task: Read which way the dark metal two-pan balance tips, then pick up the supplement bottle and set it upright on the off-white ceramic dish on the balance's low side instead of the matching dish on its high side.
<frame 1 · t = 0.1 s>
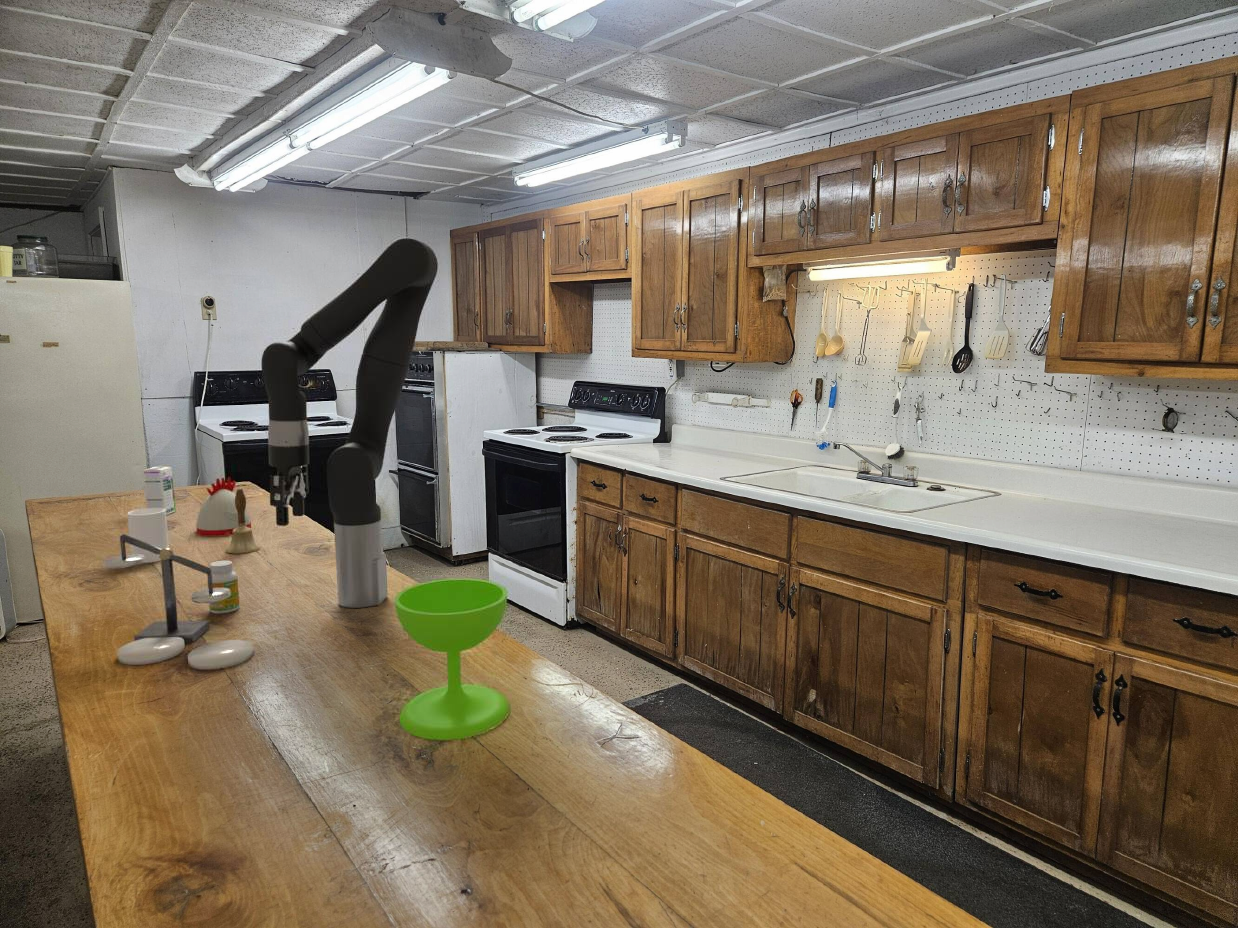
hand: (290, 520, 160), 17 cm above the table, tool pointing down, fingers open, 8 cm apart
mug: (149, 557, 195), on the table
wineglass: (455, 713, 115), on the table
balance: (173, 635, 144), on the table
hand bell: (243, 550, 202), on the table
white chicken dome: (224, 530, 222), on the table
dish high side: (152, 652, 136), on the table
dish low side: (221, 657, 134), on the table
syrup box: (161, 514, 242), on the table
supplement bottle: (225, 610, 158), on the table
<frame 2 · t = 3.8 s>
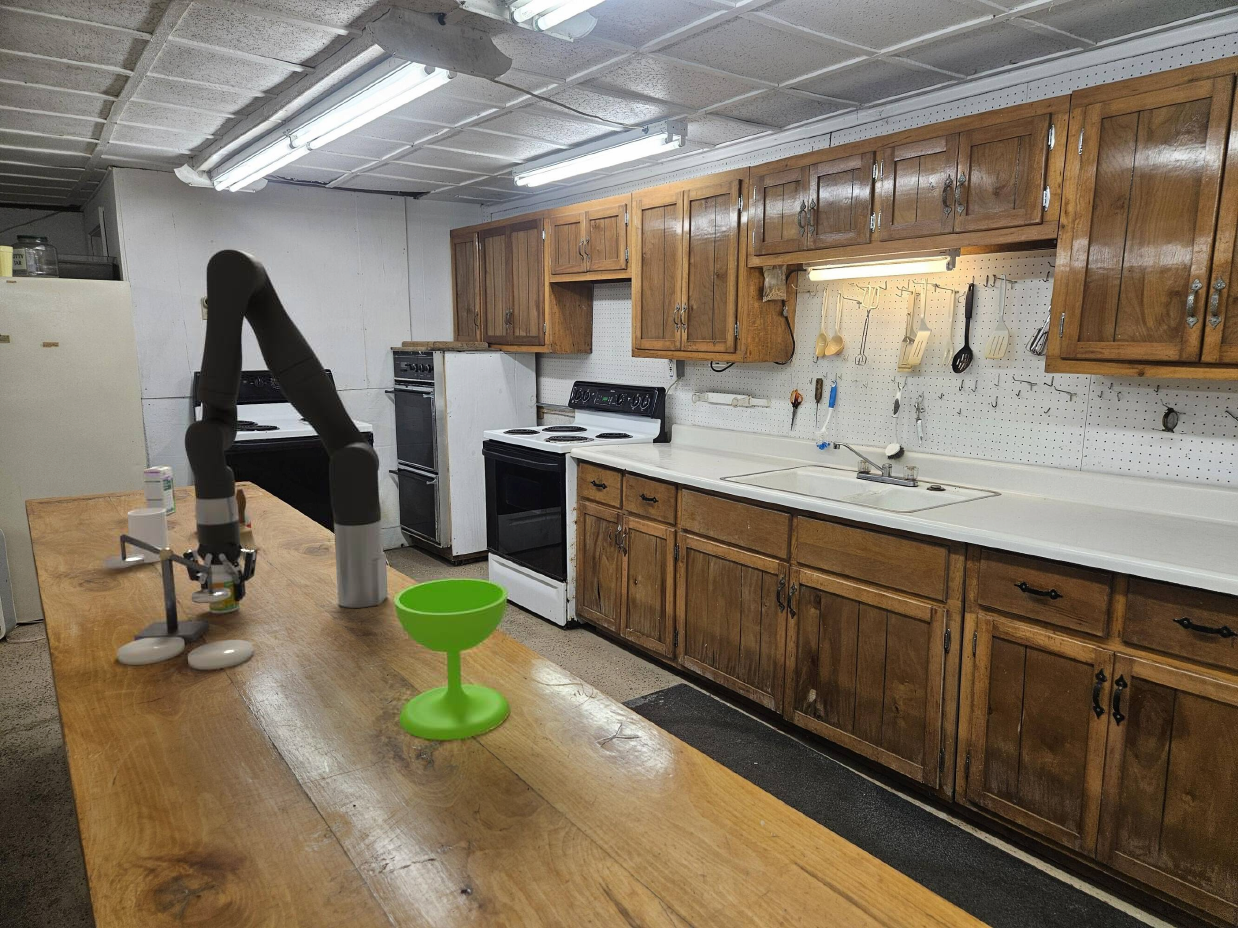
hand: (224, 599, 157), 2 cm above the table, tool pointing down, fingers closed on supplement bottle, 5 cm apart
supplement bottle: (225, 610, 158), on the table, touching gripper
everything else where it was.
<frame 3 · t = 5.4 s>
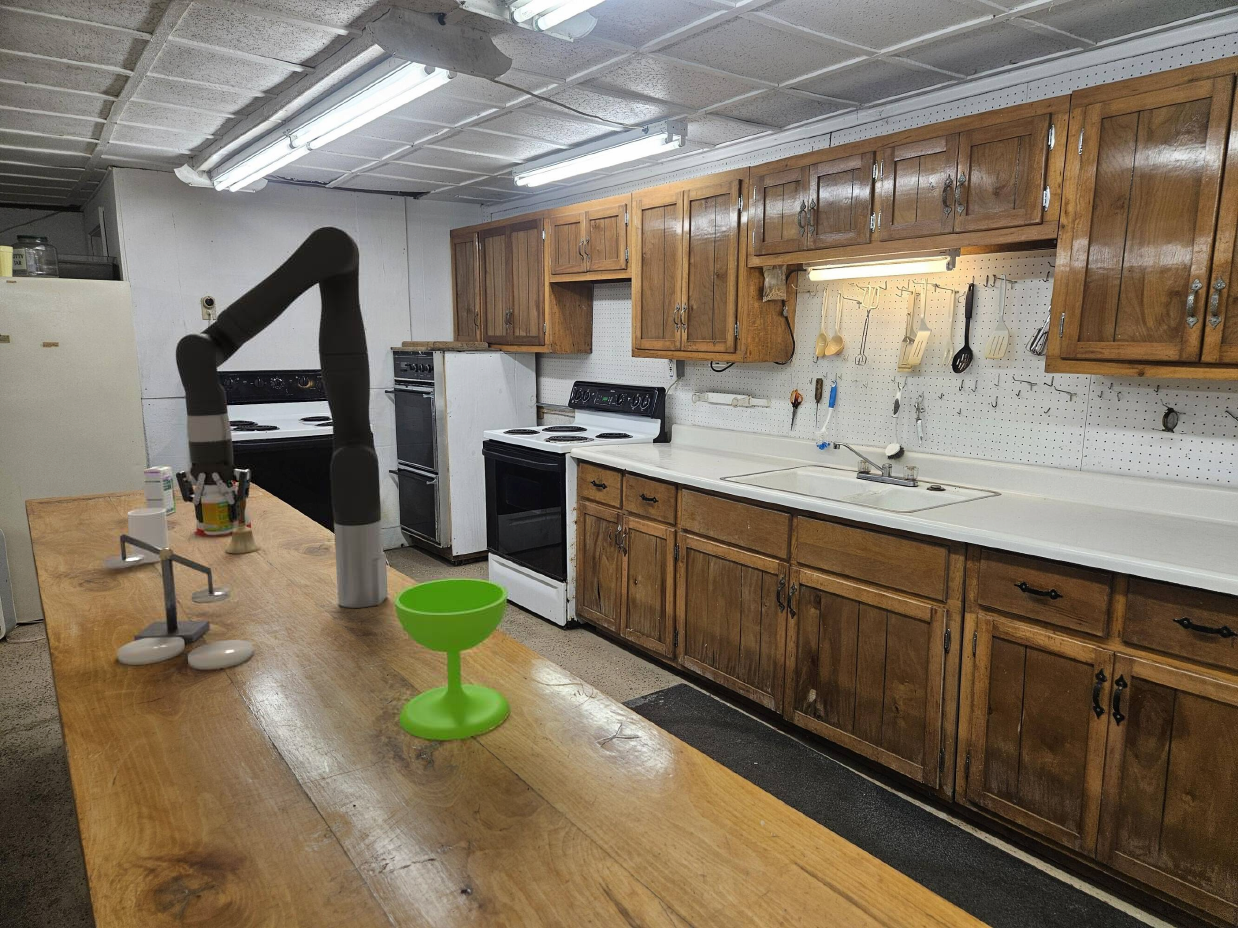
hand: (218, 521, 155), 18 cm above the table, tool pointing down, fingers closed on supplement bottle, 5 cm apart
supplement bottle: (219, 532, 155), point 16 cm above the table, touching gripper
everything else where it was.
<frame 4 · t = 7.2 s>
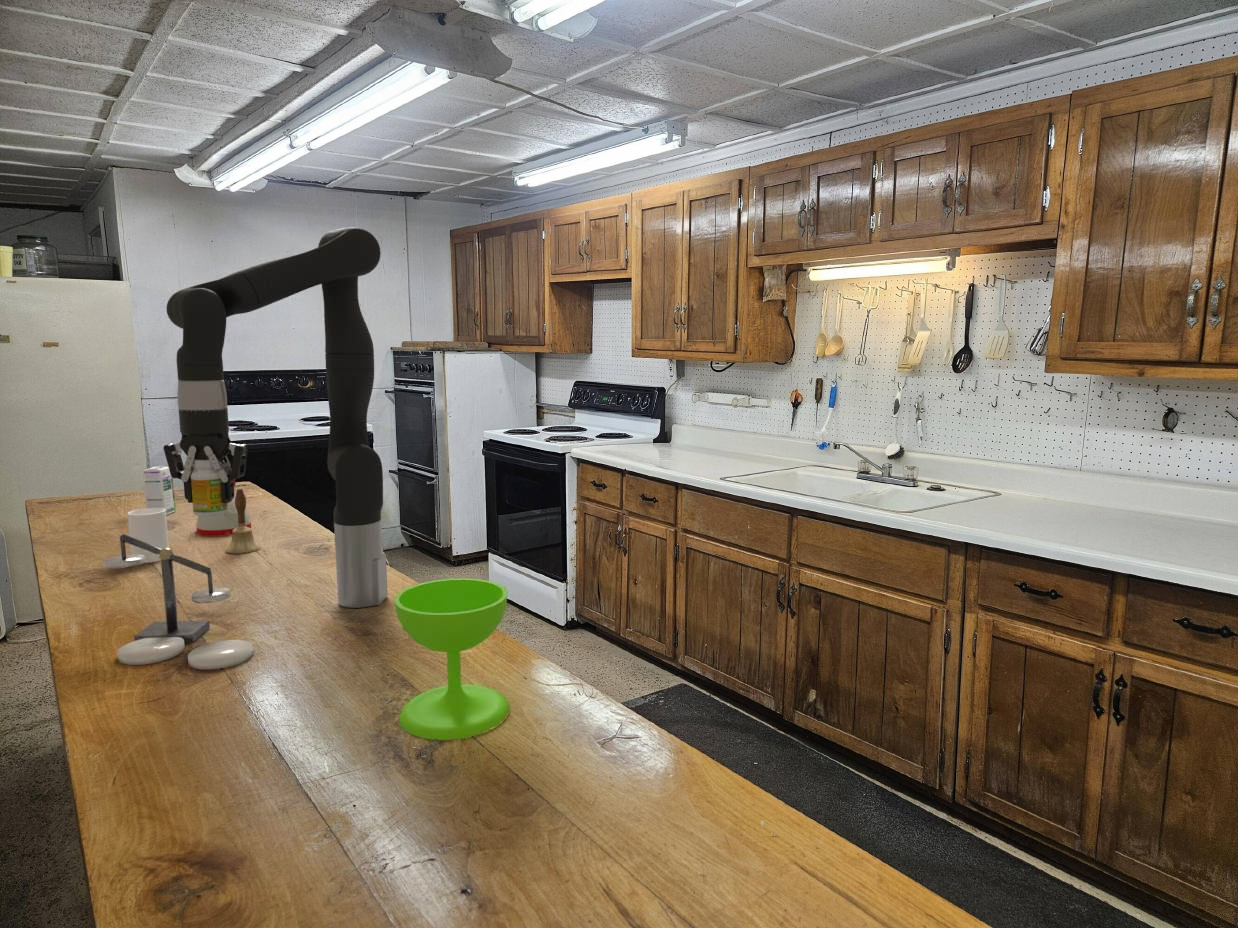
hand: (210, 501, 138), 26 cm above the table, tool pointing down, fingers closed on supplement bottle, 5 cm apart
supplement bottle: (210, 514, 138), point 23 cm above the table, touching gripper
everything else where it was.
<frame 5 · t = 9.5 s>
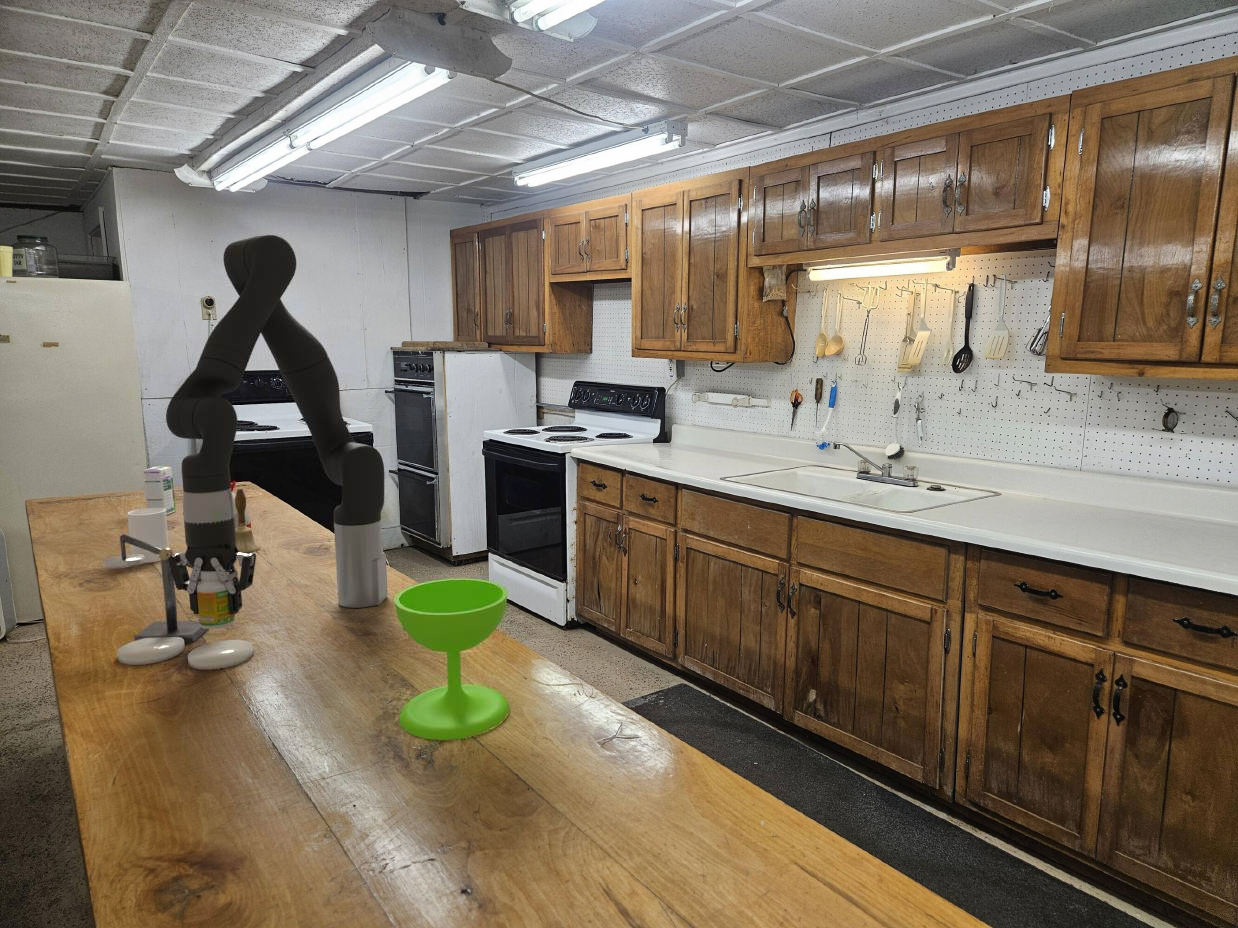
hand: (216, 612, 133), 8 cm above the table, tool pointing down, fingers closed on supplement bottle, 5 cm apart
supplement bottle: (217, 625, 133), point 6 cm above the table, touching gripper
everything else where it was.
when the fingers open (5 cm above the table, at t = 11.1 s): supplement bottle drops 1 cm, resting on dish low side.
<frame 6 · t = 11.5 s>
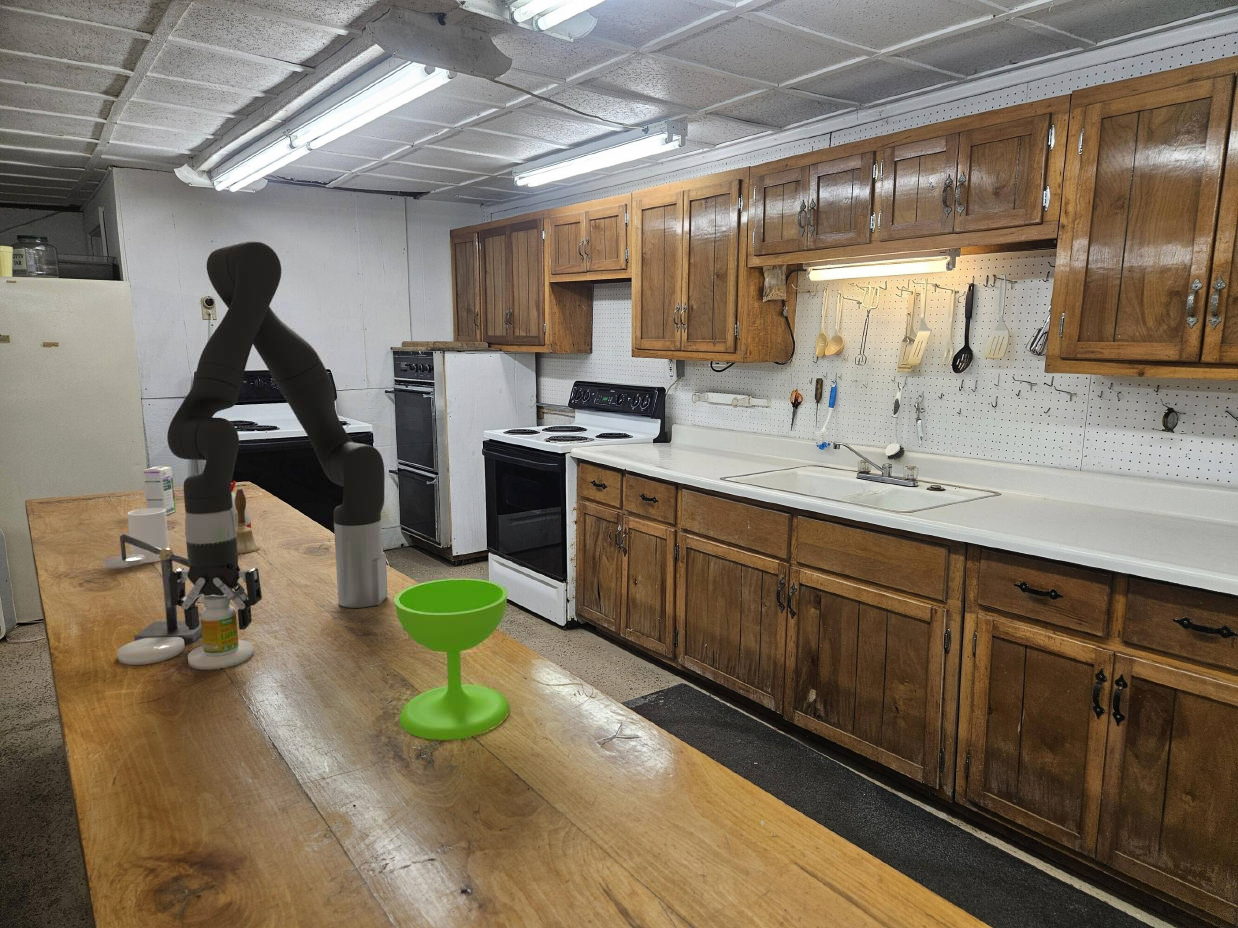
hand: (219, 628, 133), 5 cm above the table, tool pointing down, fingers open, 8 cm apart
supplement bottle: (221, 651, 134), point 1 cm above the table, touching dish low side
everything else where it was.
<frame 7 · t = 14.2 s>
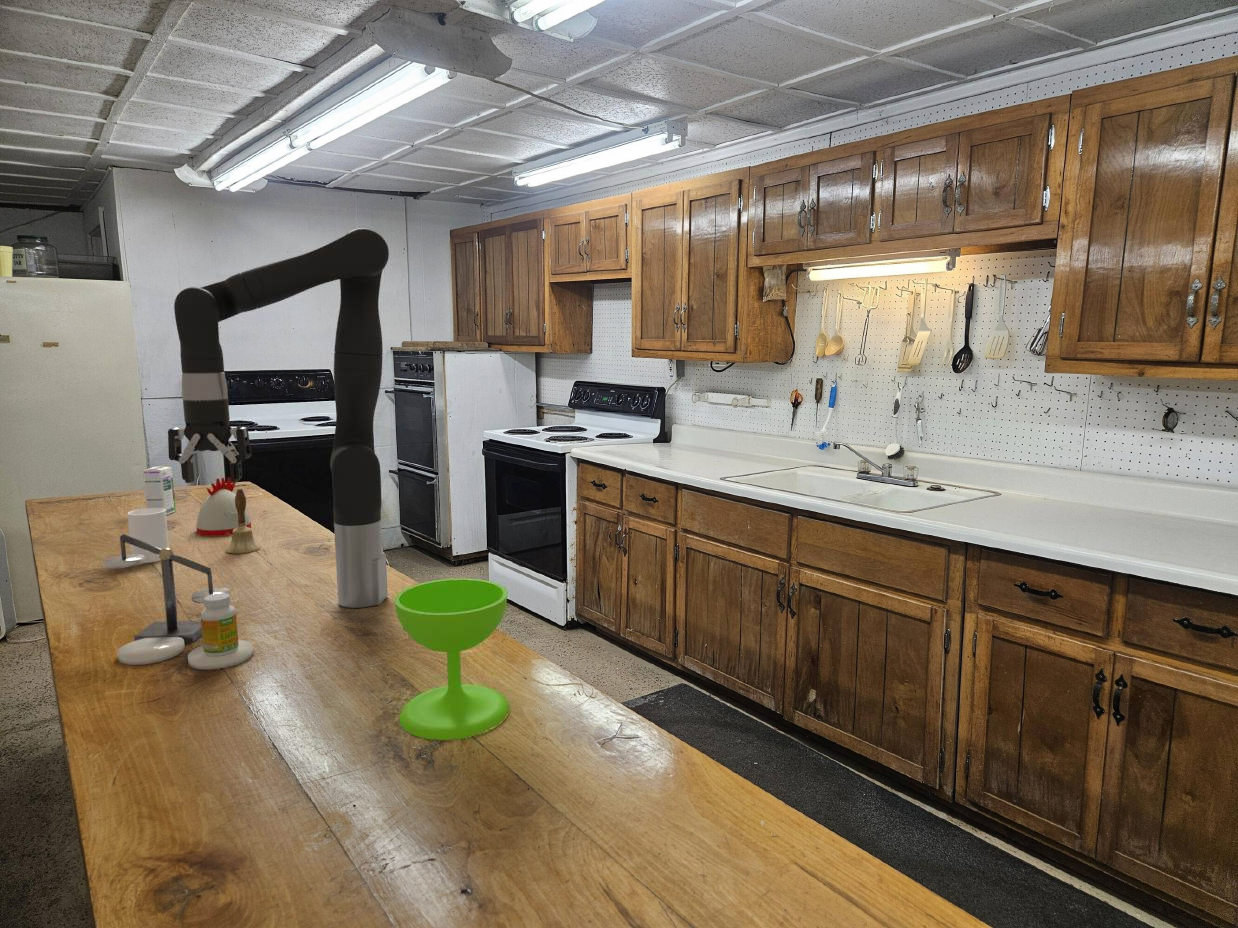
hand: (212, 482, 149), 27 cm above the table, tool pointing down, fingers open, 8 cm apart
nothing on the table moved.
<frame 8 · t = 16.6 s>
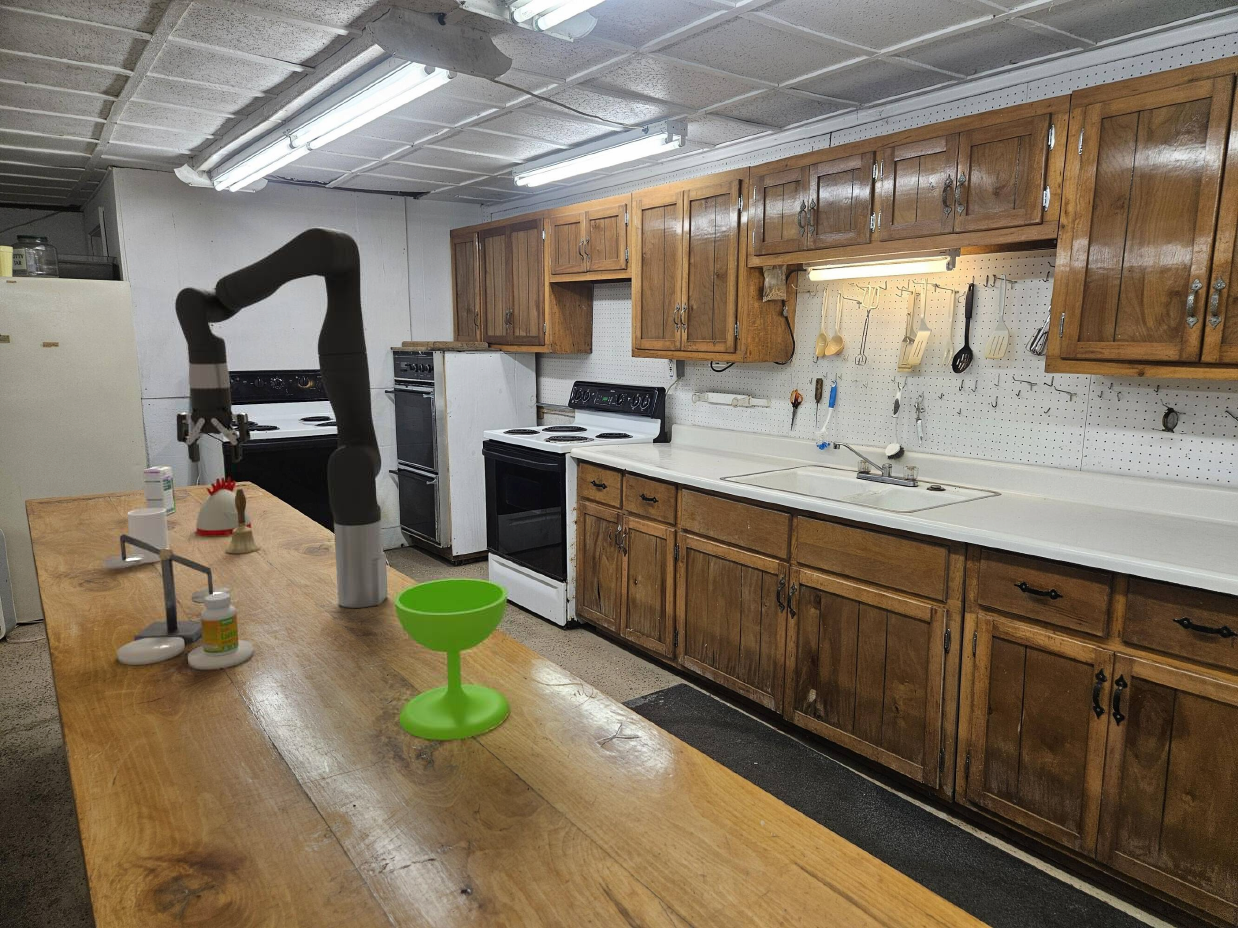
hand: (216, 461, 166), 28 cm above the table, tool pointing down, fingers open, 8 cm apart
nothing on the table moved.
at the end: supplement bottle 0.1 cm off-centre on the dish low side, point 1.0 cm above the dish low side's base; supplement bottle tilted 0°; the gripper is holding nothing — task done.
